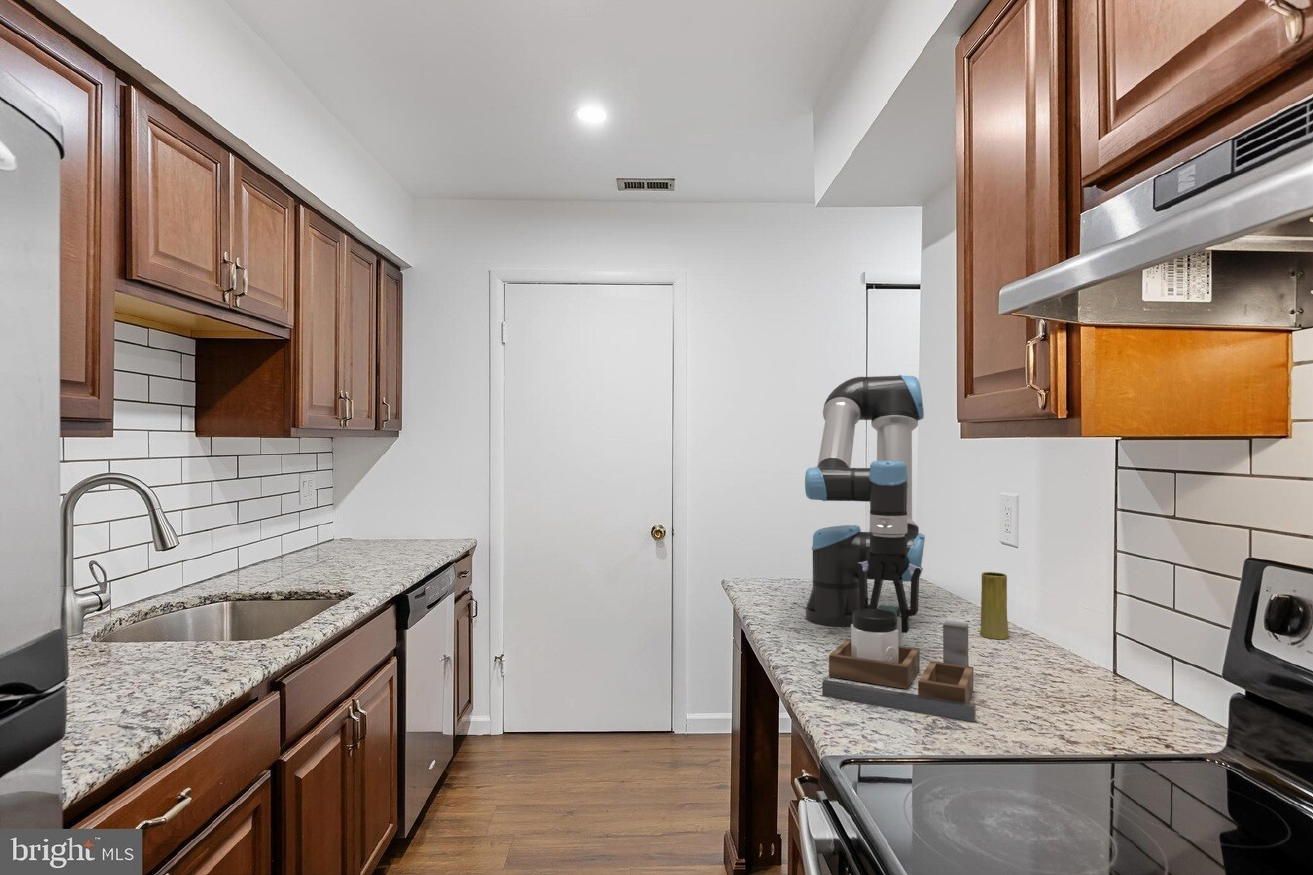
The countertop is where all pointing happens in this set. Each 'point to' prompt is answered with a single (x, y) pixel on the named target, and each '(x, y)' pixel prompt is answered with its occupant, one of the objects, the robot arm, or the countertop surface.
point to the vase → (994, 606)
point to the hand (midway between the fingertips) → (888, 645)
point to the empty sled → (950, 667)
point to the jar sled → (875, 664)
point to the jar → (875, 635)
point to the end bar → (900, 700)
